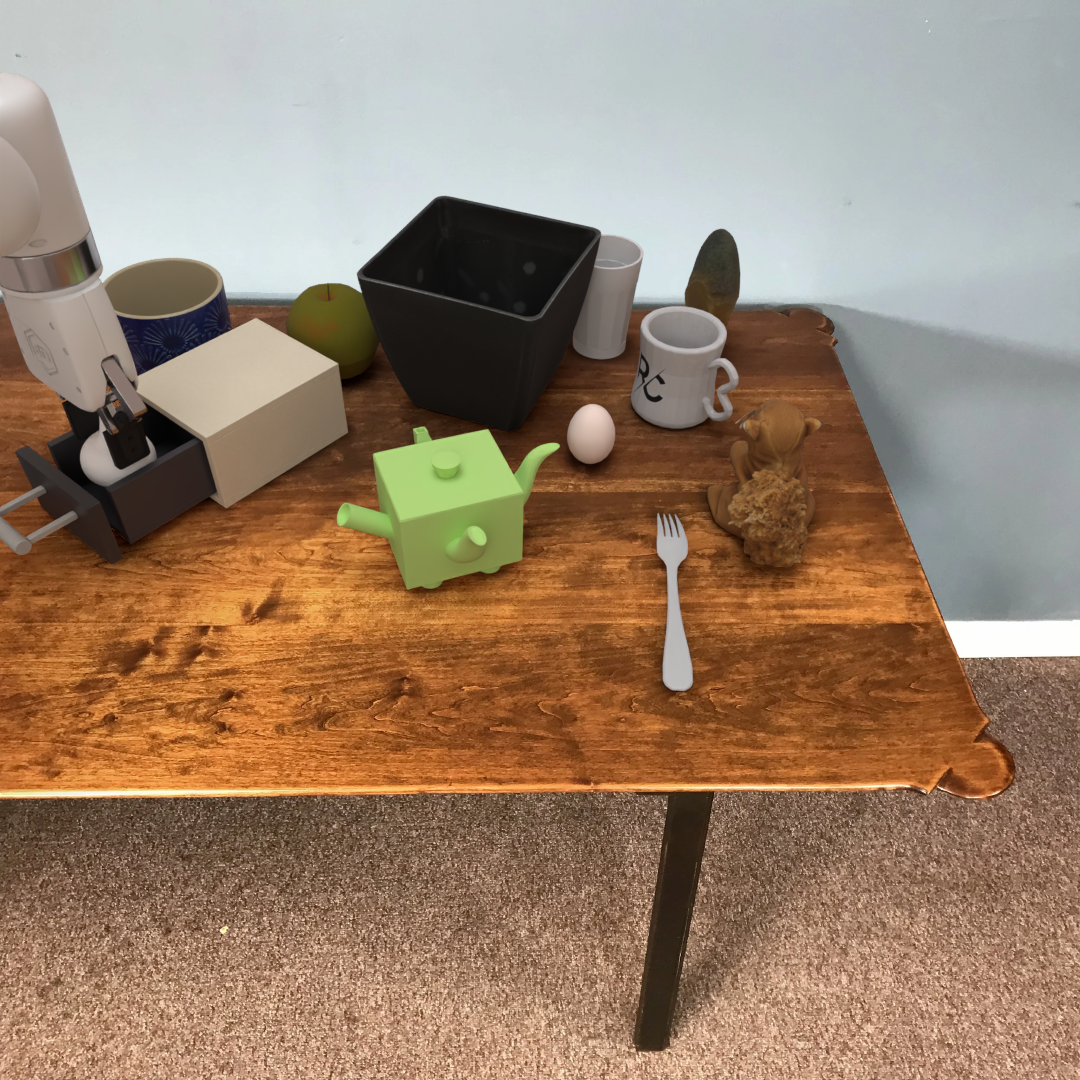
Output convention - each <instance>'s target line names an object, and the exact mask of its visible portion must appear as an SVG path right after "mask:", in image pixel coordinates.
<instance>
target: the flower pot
mask: <svg viewBox="0 0 1080 1080" xmlns="http://www.w3.org/2000/svg"><path fill="white" fill-rule="evenodd" d="M601 234H602V231H601V230H600V229H598V228H596V227H594V226H588V225H585V224H580V223H576V222H570V221H565V220H561V219H558V218H553V217H547V216H542V215H538V214H533V213H529V212H524V211H519V210H515V209H511V208H506V207H501V206H498V205H497V206H496V205H492V204H487V203H484V202H477V201H473V200H469V199H464V198H459V197H456V196H450V195H439V196H436V197H434V198H433V199H432V200H431V201H430V202H429V203H427V205H426V206H424V207H423V208H422V209H421V211H420V212H418V213H417V214H416V215H415V216H414V217H413V218H412V219H411V220H410V221H409V222H407V224H406V225H404V226H403V228H402V229H401V230H400V231H398V232H397V233H396V234H395V235H394V236H393V237H392V238H391V239H390V240H389V241H388V242H387V243H386V244H385V245H384V246H383V247H382V248H380V250H378V252H377V253H375V254H374V255H373V256H372V257H371V258H370V259H369V260H368V261H367V262H366V263H364V264H363V265H362V267H361V268H359V270H358V271H357V272H356V278H357V281H358V284H359V288H360V292H361V293H362V295H363V298H364V301H365V304H366V307H367V310H368V313H369V316H370V319H371V322H372V324H373V327H374V329H375V332H376V335H377V337H378V339H379V345H380V346H381V349H382V350H383V353H384V355H385V358H386V359H387V361H388V363H389V365H390V367H391V369H392V371H393V373H394V374H395V376H396V379H397V380H398V382H399V384H400V386H401V387H402V389H403V391H404V392H405V394H406V396H407V397H408V399H409V401H410V402H411V404H412V405H414V406H415V407H419V408H421V409H422V408H423V409H426V410H429V411H433V412H437V413H441V414H444V415H448V416H451V417H454V418H457V419H462V420H465V421H469V422H472V423H476V424H480V425H483V426H487V427H489V428H490V427H491V428H494V429H497V430H501V431H506V432H509V433H510V432H516V431H518V430H519V429H520V428H521V427H522V425H523V424H524V423H525V420H526V419H527V418H528V417H529V415H530V413H531V411H532V410H533V408H534V407H535V405H536V404H537V403H538V401H539V399H540V398H541V397H542V395H543V394H544V392H545V390H546V389H547V387H548V386H549V384H550V382H551V381H552V380H553V379H554V377H555V376H556V374H557V372H558V370H559V368H560V365H561V364H562V361H563V359H564V356H565V354H566V352H567V349H568V347H569V344H570V341H571V339H572V338H573V333H574V329H575V326H576V324H577V321H578V318H579V315H580V312H581V309H582V306H583V303H584V300H585V297H586V293H587V290H588V287H589V283H590V280H591V276H592V272H593V268H594V264H595V260H596V256H597V252H598V248H599V244H600V239H601Z"/></svg>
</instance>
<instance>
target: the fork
mask: <svg viewBox="0 0 1080 1080" xmlns="http://www.w3.org/2000/svg"><path fill="white" fill-rule="evenodd" d="M662 515H663V522H662V519H661V516H660V513H659V512H658V513H657V514H656V529H657V531H656V533H657V534H656V552H657V556H658V557H659V558H660V559H661V560H662V561H663V563H664V564H665V566H666V579H667V580H666V581H667V586H666V587H667V615H666V628H665V629H666V630H665V636H664V637H665V638H664V647H663V657H662V682H663V684H664V685H665V687H666V688H668V689H669V690H671V691H677V692H685V691H687V690H689V689H691V688H692V686H693V684H694V671H693V662H692V659H691V658H692V657H691V653H690V648H689V645H688V644H689V643H688V641H687V636H686V633H685V628H684V622H683V617H682V612H681V604H680V595H679V586H678V568H679V566H680V564H681V563H682V561H684V560H685V559H686V558H687V556H688V554H689V553H688V552H689V548H688V547H689V543H688V538H687V535H686V532H685V529H684V527H683V525H682V522H681V520H680V519H679V517H678V515H677V514H674V518H675V520H674V519H673V517H672V515H671V514H670V513H668V518H669V520H668V518H667V516H666V514H665V513H662ZM675 521H676V525H675ZM663 525H664V526H663ZM676 526H677V527H676ZM670 528H671V529H670Z"/></svg>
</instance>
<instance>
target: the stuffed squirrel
mask: <svg viewBox="0 0 1080 1080" xmlns="http://www.w3.org/2000/svg"><path fill="white" fill-rule="evenodd" d="M752 416H753V417H752ZM751 417H752V419H750V418H751ZM739 423H740V425H739V427H738V428H739V429H742V428H743V430H744V431H745V432H746V433H747V441H746V440H737V441H735V442H734V443H733V444H732V445H731V448H730V450H729V460H730V463H731V466H732V467H733V471H734V474H735V475H734V476H735V477H736V478H737V481H734V482H730V483H728V484H725V485H722V484H714V485H710V486H709V487H708V488H707V491H706V492H707V493H706V494H707V495H706V496H707V502H708V505H709V508H710V512H711V515H712V517H713V520H714V521H715V523H716V524H717V525H718V526H719V527H721V528H722V529H724V530H725V531H727V532H728V533H730V534H731V535H733V536H735V537H737V538H740V539H742V540H743V541H742V543H743V553H744V554H746V555H749V560H750V561H752V562H753V563H756V564H757V565H760V566H763V565H764V566H765V565H767V566H769V567H774V568H780V567H781V568H790V567H794V565H795V564H801V559H802V554H803V553H804V552H805V549H806V548H807V540H808V538H809V536H808V534H809V531H808V526H809V525H810V523H811V522H812V519H813V517H814V514H815V511H816V505H817V504H816V500H815V497H814V495H813V493H812V491H811V490H810V488H809V477H808V472H807V470H806V467H805V463H804V460H803V458H802V453H803V451H804V448H805V439H806V438H808V437H809V436H812V435H813V434H814V433H816V432H817V431H818V430H819V429H820V428H821V426H822V423H821V421H820V420H819V419H817V418H815V417H805V415H804V414H803V412H802V411H801V410H800V409H799V408H798V407H796V406H794V405H792V404H791V403H788V402H786V401H784V400H781V399H768V400H766V401H764V402H763V403H760V405H759V406H758V407H757V408H755V409H753V410H751V411H749V412H748V413H746V414H744V415H742V417H740V418H739V419H738V420H737V421H735V422H734V425H737V424H739Z"/></svg>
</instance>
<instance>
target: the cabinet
mask: <svg viewBox="0 0 1080 1080" xmlns="http://www.w3.org/2000/svg"><path fill="white" fill-rule="evenodd" d="M138 382H139V385H138V389H137V391H136V392H137V394H138V395H139V397H140V398H141V400H142V401H144V402H145V403H147V404H148V405H150V406H151V407H153V408H154V409H156V410H157V411H159V412H160V413H162V414H163V415H165V416H166V417H168V418H169V419H171V420H172V421H173V422H175V423H176V424H178V425H179V426H181V427H182V428H184V429H185V430H187V431H188V432H190V433H191V434H193V435H194V436H196V437H197V438H199V439H200V440H202V441H203V444H204V447H205V450H206V454H207V457H208V461H209V464H210V468H211V471H212V475H213V478H214V482H215V485H216V489H217V492H216V493H215V494H213V495H211V496H210V497H209V498H210V499H212V500H213V501H215V502H216V503H217V504H219V505H220V506H222V507H223V508H225V509H228V508H230V507H231V506H233V505H234V504H236V503H238V502H240V501H241V500H242V499H244V498H246V497H248V496H249V495H250V494H252V493H254V492H255V491H257V490H259V489H260V488H262V487H263V486H265V485H267V484H268V483H270V482H271V481H273V480H274V479H276V478H278V477H279V476H281V475H282V474H284V473H286V472H287V471H289V470H290V469H292V468H294V467H296V466H297V465H299V464H301V463H302V462H304V461H305V460H307V459H308V458H310V457H311V456H313V455H315V454H316V453H318V452H320V451H321V450H323V449H324V448H326V447H328V446H329V445H331V444H333V443H334V442H335V441H337V440H339V439H340V438H342V437H344V436H346V435H347V434H348V433H349V429H348V422H347V416H346V414H347V413H346V407H345V402H344V395H343V394H344V393H343V387H342V379H340V373H339V365H338V363H336V362H334V361H333V360H331V359H329V358H327V357H325V356H324V355H322V354H320V353H318V352H316V351H315V350H313V349H311V348H309V347H307V346H306V345H304V344H302V343H300V342H298V341H297V340H295V339H293V338H291V337H289V336H288V334H286V333H284V332H282V331H280V330H279V329H277V328H275V327H274V326H271V325H269V324H268V323H266V322H264V321H262V320H260V319H259V318H256V317H255V318H253V319H250V320H249V321H247V322H245V323H243V324H240V325H239V326H237V327H234V328H233V329H232V330H231V331H229V332H227V333H225V334H223V335H220V336H218V337H216V338H214V339H212V340H210V341H208V342H206V343H204V344H202V345H200V346H198V347H196V348H194V349H192V350H190V351H188V352H186V353H184V354H182V355H180V356H178V357H176V358H174V359H172V360H170V361H168V362H166V363H164V364H162V365H160V366H157V367H155V368H153V369H151V370H149V371H147V372H145V373H143V374H141V375H139V376H138Z"/></svg>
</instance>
